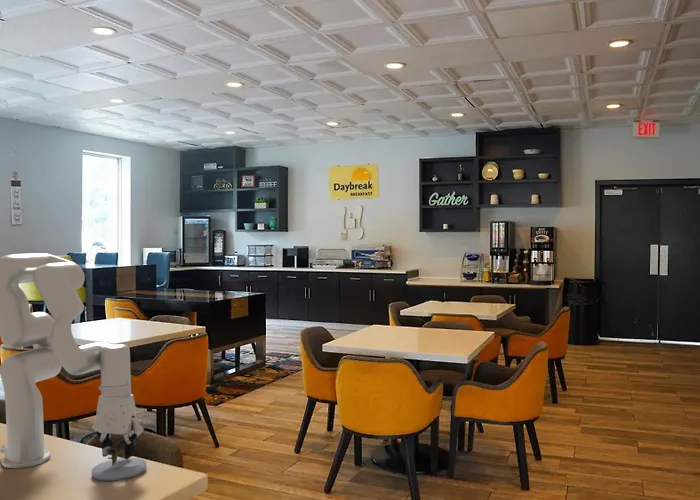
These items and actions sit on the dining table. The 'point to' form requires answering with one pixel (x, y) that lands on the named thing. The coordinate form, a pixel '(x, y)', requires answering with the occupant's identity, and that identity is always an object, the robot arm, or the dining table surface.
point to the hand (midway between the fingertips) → (118, 455)
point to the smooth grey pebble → (119, 469)
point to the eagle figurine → (117, 450)
